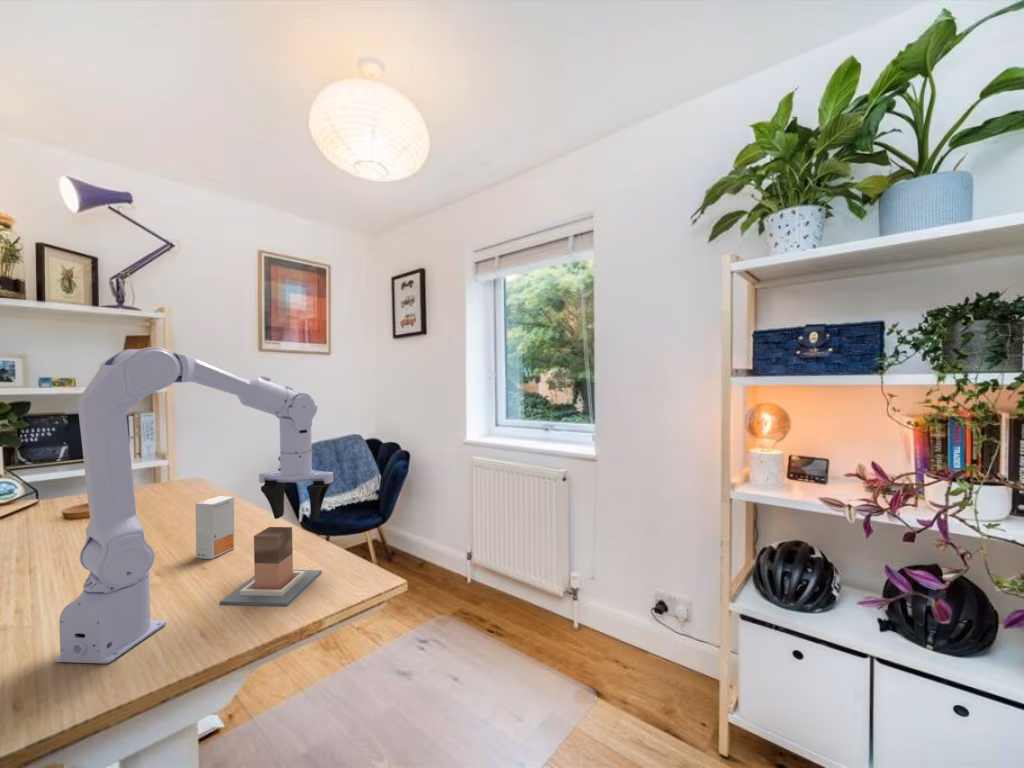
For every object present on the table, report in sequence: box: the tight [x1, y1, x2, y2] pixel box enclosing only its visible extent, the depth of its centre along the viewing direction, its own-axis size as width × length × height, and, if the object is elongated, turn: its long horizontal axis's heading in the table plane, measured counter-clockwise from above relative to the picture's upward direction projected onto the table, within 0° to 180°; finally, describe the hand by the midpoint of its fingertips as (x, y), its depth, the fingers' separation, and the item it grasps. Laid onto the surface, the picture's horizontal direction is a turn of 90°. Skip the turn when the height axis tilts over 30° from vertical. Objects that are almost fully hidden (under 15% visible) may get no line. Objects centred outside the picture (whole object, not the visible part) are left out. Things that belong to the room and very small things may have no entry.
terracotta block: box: [253, 553, 294, 590], centre depth 79 cm, size 4×4×5 cm
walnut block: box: [253, 526, 294, 564], centre depth 79 cm, size 4×4×5 cm
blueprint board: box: [219, 569, 323, 607], centre depth 79 cm, size 12×12×1 cm
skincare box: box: [195, 495, 235, 560], centre depth 94 cm, size 6×4×12 cm
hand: (297, 517), depth 87 cm, fingers open, 7 cm apart
